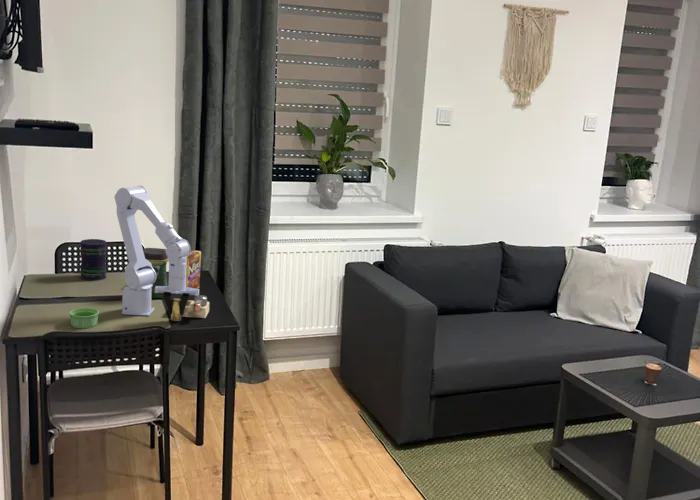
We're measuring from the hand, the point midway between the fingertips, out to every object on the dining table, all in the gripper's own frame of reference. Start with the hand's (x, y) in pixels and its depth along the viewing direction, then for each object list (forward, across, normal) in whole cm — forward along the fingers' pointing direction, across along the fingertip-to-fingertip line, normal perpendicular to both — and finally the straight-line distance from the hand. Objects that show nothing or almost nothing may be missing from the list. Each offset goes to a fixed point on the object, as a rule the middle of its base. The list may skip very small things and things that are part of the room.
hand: (176, 314), depth 233 cm
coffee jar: (+3, -14, +27) cm, 31 cm away
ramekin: (+3, -28, -9) cm, 29 cm away
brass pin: (+2, 0, 0) cm, 2 cm away
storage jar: (+3, -43, +46) cm, 63 cm away
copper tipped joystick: (-1, +7, +6) cm, 9 cm away
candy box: (+3, -3, +38) cm, 38 cm away
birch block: (+2, +3, +9) cm, 10 cm away
